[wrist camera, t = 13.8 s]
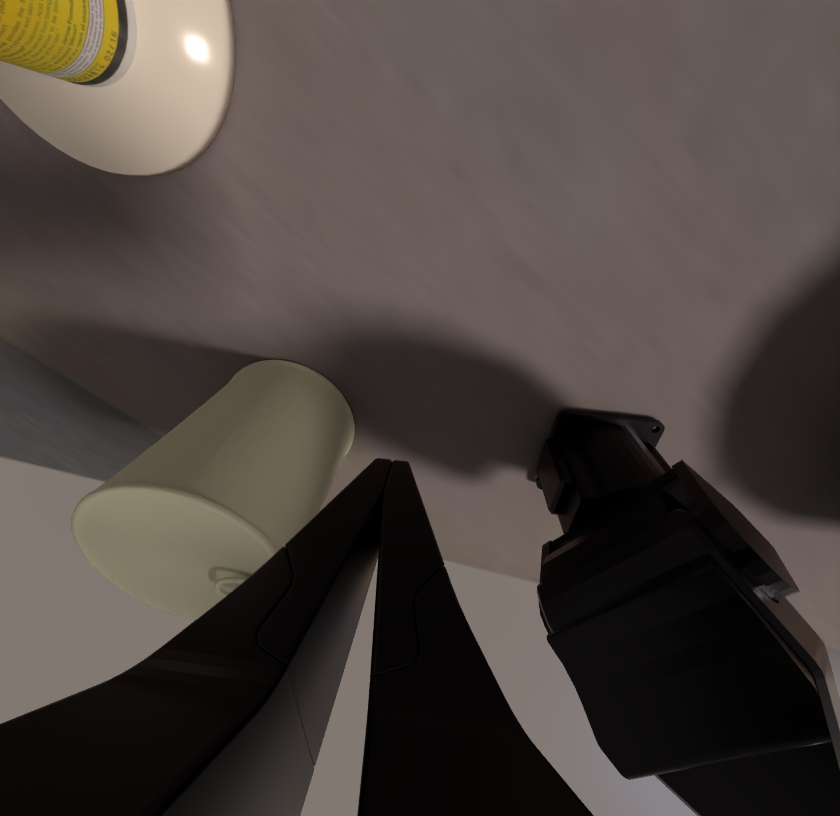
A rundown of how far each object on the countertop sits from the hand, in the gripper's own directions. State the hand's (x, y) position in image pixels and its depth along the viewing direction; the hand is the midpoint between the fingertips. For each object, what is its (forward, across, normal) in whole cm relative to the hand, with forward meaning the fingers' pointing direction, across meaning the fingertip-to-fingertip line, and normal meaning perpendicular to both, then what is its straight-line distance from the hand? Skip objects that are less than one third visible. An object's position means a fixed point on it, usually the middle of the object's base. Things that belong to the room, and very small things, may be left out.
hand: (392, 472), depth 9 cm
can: (+13, +9, +8) cm, 18 cm away
